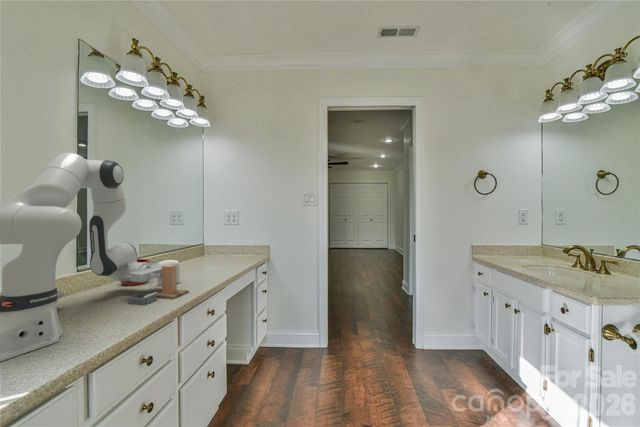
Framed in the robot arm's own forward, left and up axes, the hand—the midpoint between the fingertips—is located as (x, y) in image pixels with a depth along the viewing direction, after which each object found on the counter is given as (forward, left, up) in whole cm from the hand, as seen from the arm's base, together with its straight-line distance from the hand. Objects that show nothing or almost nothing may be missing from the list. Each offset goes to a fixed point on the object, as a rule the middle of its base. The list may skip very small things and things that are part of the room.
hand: (168, 273), depth 132 cm
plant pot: (+15, +32, -10) cm, 36 cm away
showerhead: (-28, +30, -10) cm, 42 cm away
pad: (0, 0, -10) cm, 10 cm away
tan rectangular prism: (0, 0, -9) cm, 9 cm away
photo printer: (+17, +14, -10) cm, 24 cm away
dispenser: (-11, +4, -10) cm, 15 cm away
